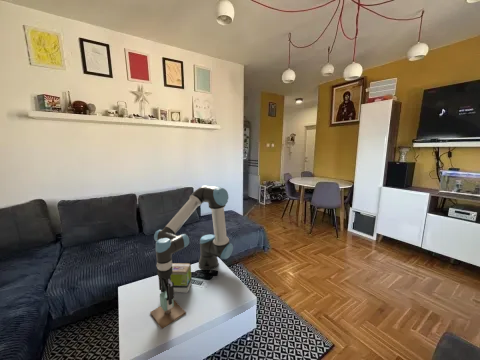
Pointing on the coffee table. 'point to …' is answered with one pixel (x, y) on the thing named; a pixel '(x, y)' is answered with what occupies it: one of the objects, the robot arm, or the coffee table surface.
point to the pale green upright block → (164, 301)
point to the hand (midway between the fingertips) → (167, 305)
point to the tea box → (181, 277)
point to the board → (167, 315)
